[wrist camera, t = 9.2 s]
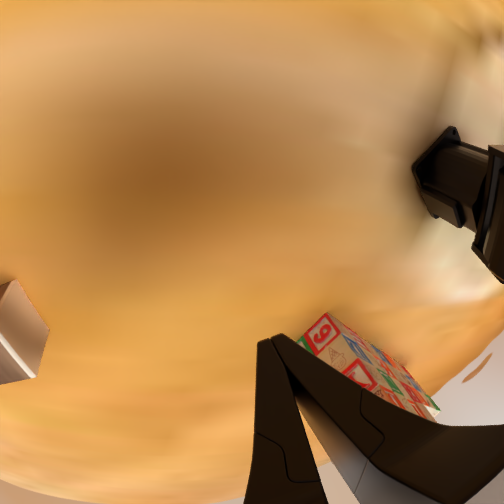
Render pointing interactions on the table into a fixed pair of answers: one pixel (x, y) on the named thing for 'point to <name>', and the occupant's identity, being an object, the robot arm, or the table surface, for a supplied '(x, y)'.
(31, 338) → the walnut block
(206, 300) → the table surface
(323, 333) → the stack of blocks
